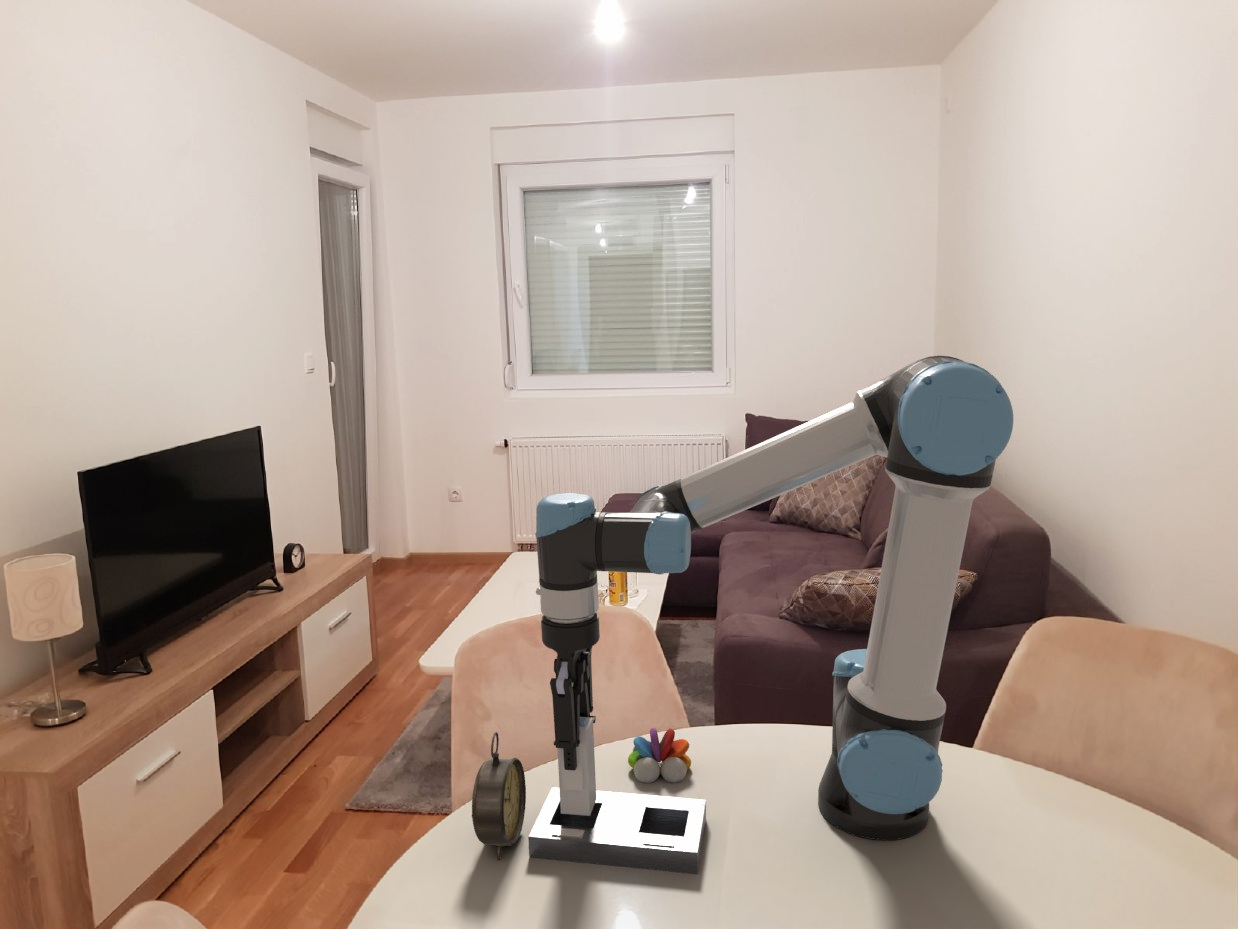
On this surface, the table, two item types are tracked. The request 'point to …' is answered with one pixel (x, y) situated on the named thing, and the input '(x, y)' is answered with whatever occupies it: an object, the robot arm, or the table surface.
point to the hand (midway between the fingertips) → (577, 778)
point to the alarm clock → (499, 800)
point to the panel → (623, 832)
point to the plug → (585, 799)
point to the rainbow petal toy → (660, 757)
